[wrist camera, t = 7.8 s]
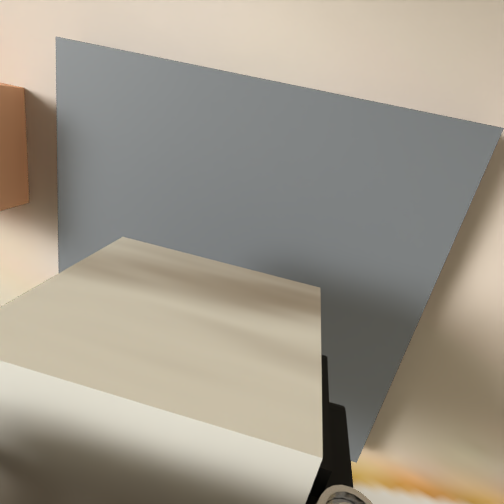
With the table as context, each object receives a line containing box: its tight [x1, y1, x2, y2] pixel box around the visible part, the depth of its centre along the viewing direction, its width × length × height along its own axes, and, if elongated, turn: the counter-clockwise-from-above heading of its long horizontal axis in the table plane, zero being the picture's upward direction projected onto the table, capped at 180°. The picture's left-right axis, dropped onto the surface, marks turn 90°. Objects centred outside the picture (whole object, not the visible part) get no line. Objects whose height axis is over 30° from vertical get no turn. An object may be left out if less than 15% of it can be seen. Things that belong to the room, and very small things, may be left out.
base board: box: [56, 37, 504, 462], centre depth 17 cm, size 17×17×2 cm
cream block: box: [0, 237, 323, 504], centre depth 10 cm, size 6×6×6 cm
